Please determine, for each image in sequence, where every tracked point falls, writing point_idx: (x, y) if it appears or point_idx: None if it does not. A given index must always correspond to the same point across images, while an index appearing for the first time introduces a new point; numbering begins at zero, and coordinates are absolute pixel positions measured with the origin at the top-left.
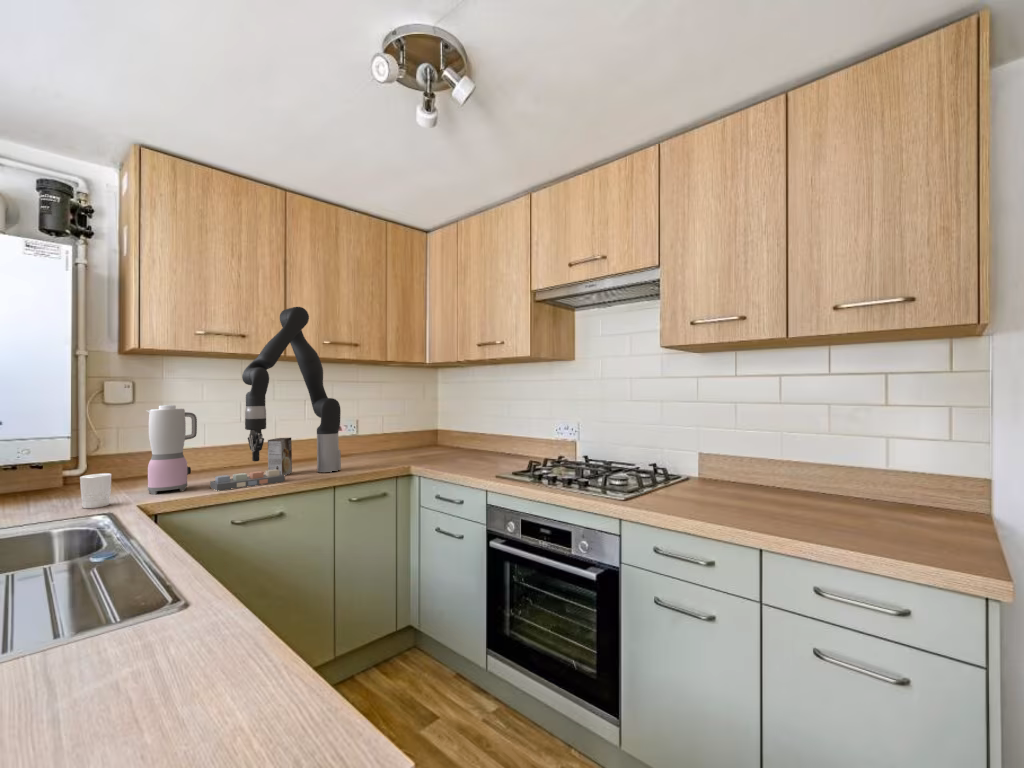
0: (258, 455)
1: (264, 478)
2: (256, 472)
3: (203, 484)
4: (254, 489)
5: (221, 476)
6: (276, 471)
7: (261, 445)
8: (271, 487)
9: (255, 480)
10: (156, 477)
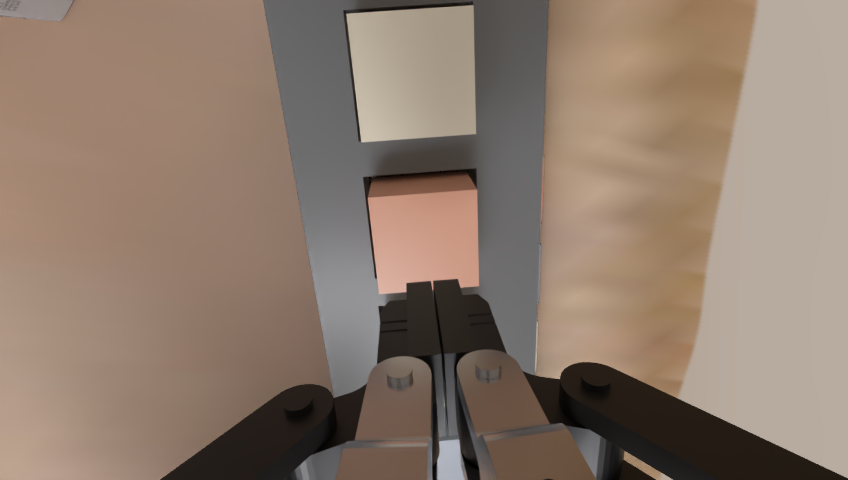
0: (499, 333)
1: (540, 184)
2: (444, 248)
3: (175, 466)
4: (667, 271)
5: (442, 477)
6: (472, 44)
7: (748, 457)
8: (703, 161)
9: (536, 253)
10: None
